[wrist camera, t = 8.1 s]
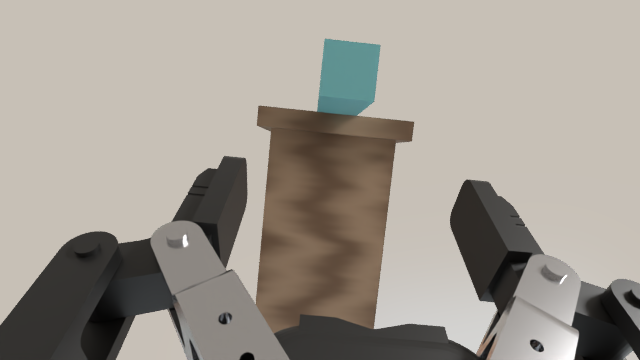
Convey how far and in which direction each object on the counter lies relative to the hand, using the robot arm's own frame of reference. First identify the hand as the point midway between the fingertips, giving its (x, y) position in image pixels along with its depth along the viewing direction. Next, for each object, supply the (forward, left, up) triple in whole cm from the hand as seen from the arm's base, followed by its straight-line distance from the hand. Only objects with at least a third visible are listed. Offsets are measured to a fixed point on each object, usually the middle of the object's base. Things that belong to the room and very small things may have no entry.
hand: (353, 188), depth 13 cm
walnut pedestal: (0, +20, -28) cm, 34 cm away
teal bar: (0, +18, +4) cm, 19 cm away
